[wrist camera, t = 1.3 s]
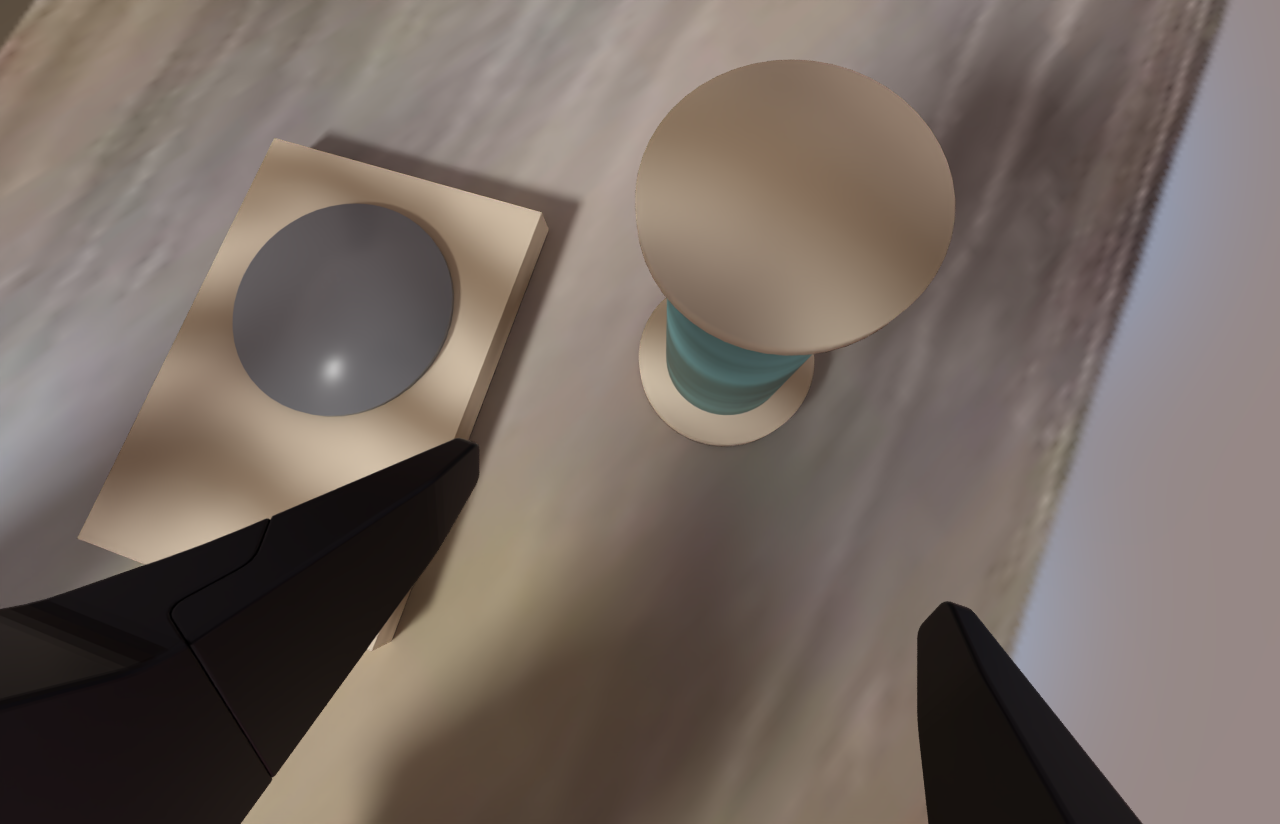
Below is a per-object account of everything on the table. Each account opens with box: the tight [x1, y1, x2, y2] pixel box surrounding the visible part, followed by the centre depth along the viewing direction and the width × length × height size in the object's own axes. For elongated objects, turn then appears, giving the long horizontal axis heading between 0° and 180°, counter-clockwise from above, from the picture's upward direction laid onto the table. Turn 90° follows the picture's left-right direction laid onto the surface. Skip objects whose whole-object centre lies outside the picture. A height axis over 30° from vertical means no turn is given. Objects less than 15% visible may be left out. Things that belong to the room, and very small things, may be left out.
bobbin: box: [635, 60, 955, 446], centre depth 17 cm, size 8×8×13 cm
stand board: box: [77, 138, 549, 651], centre depth 23 cm, size 20×14×2 cm
